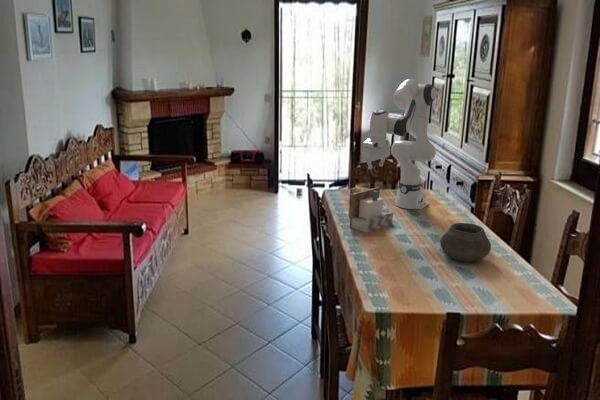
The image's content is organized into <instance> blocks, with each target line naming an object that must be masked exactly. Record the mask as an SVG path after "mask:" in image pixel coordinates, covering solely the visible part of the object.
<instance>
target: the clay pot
mask: <svg viewBox="0 0 600 400" xmlns="http://www.w3.org/2000/svg"><path fill="white" fill-rule="evenodd" d="M448 229H449V230H448V231H446V232H445V233H444V234H443V235H442V237H441V238H440V242H439V243H440V244H439V245H440V248H441V250H442V252H443V253H444V254H445V255H446V256H447V257H449V258H452V259H454V260H457V261H460V262H466V263H467V262H475V261H481V260H484V259H485V258H487V256H489V254H490V253H491V249H492V244H491V241H490V239H489V237H488V236H487V234H486V231H485V230H484V227H482V226H480V225H478V224H474V223H472V222H471V223H468V222H457V223H456V222H455V223H453V224H451V225H450V227H449V228H448Z"/></svg>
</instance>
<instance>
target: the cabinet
mask: <svg viewBox="0 0 600 400" xmlns="http://www.w3.org/2000/svg"><path fill="white" fill-rule="evenodd" d="M383 205H384V198H381V197H379V198H378V191H373V195H372V197H370V198H366V199H363V200H360V206H359V217H361V218H365V219H371V218H374V217H377V216H381V215H382V212H383V208H384V207H383Z"/></svg>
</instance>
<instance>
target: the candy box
mask: <svg viewBox="0 0 600 400" xmlns="http://www.w3.org/2000/svg"><path fill="white" fill-rule="evenodd" d="M361 191H364V190H363V189H361V188H357V187H350V190H349V201H348V215H349V216H350V213H351V198H352V194H353V193H357V192H361Z"/></svg>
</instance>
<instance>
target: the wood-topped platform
mask: <svg viewBox="0 0 600 400" xmlns="http://www.w3.org/2000/svg"><path fill="white" fill-rule="evenodd" d="M380 190H381V187H379V186H376V187H372V188H369V189H365V190H364V191H361V192H357V193H353V194H352V198H351V213H350V215H349V227H350V228H352V229H355V230H358V231H360V232H364V233H366V234H367V233H370V232H373V231H376V230H379V229H382V228H384V227H387V226H390V225H392V224H393V219H394V212H393V211H391V212H384V211H382V215H381V216H377V217H374V218H371V219H365V218H361V217H359V206H360V200H363V199H366V198H370V197H372V195H373V191H378V198H380V194H381V193H380V192H381V191H380Z"/></svg>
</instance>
